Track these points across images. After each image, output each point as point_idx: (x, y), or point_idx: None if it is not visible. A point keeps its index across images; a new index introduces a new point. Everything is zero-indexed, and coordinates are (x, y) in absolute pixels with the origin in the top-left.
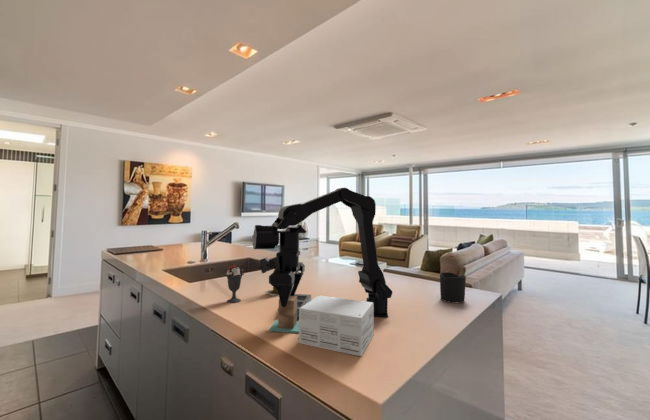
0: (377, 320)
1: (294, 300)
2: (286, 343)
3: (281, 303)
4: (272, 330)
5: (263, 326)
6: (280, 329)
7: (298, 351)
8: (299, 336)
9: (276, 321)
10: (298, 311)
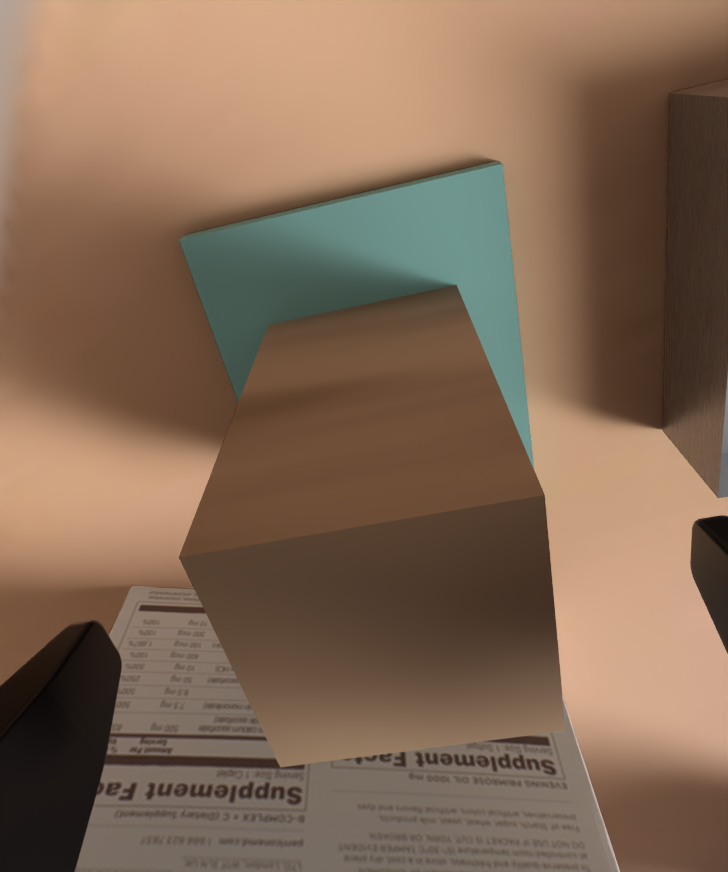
0: (717, 865)
1: (331, 748)
2: (60, 518)
3: (22, 677)
4: (196, 282)
5: (272, 70)
6: (239, 371)
7: (15, 629)
8: (110, 634)
9: (443, 200)
10: (705, 428)
